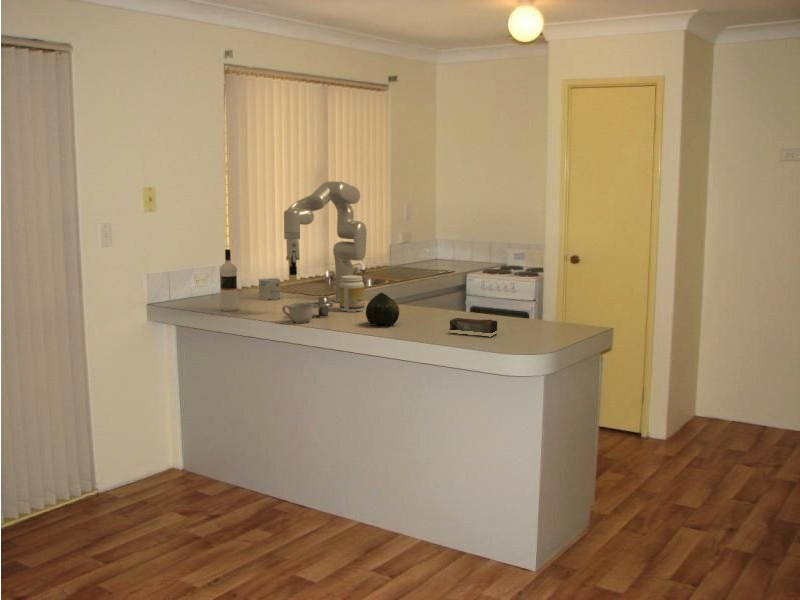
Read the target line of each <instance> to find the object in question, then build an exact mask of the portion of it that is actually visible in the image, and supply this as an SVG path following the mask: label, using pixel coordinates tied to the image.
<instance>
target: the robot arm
mask: <svg viewBox="0 0 800 600" xmlns="http://www.w3.org/2000/svg"><path fill="white" fill-rule="evenodd" d="M360 199H361V192H360V190H359V189H358V187H356V186H353V185H352V184H348V183H347V182H344V181H325V182H323V183H322V184H321V185H320V186H319V187H317V188H316V190H314V191H313V192H312V194H310V195H308V196H307V195H306V196H305V197H304V198H301V199H298V200H297V201H295V202H293V203H292V204H290V206H289V207H288V208H287V209H285V210H284V211H283V239H284V240H286V256H288V258H289V260H290V266H291V267H290V275H296V276H297V275H298V273H297V272H298V270H297V269H298V268H297V261H299V260H300V242H299V240H300V239H301V225H304V226H307V225H310V224H312V223H313V222H314V220H315V215H314V212H316V211H319V210H321V209H323V208H324V207H325V206H326V205H328V203H329V202H330V201H331V202H332V204H333V205H334V207H335V209H336V212H337V215H336V216H337V219H336V234H337V237H338V238H340V239H345V241H344V240H343V241H341V240H340V241H337V242H336V243H335V244H334V245H333V249H332V250H333V257H334V264H335V265H334V266H335V269H334V270H335V271H334V273H335V274H334V275H335V277H334V279H335V280H334V281H335V297H334V298H332V302H335V303H339V304H340V283H341V282H342V280H341V277H342V276H349V275H354V265H353V263H352V261H362V260H363V259H364V258H366V253H367V235H368V234H367V230H368V229H367V227H366V224H365V223H364V222H362V221H359V220H354V213H355V212H354V209H353V207H352V205H355V204H357V203H359V201H360ZM346 240H353V241H346ZM291 257H292V258H291ZM296 257H297V259H298V260H296ZM291 259H293V260H291Z"/></svg>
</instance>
